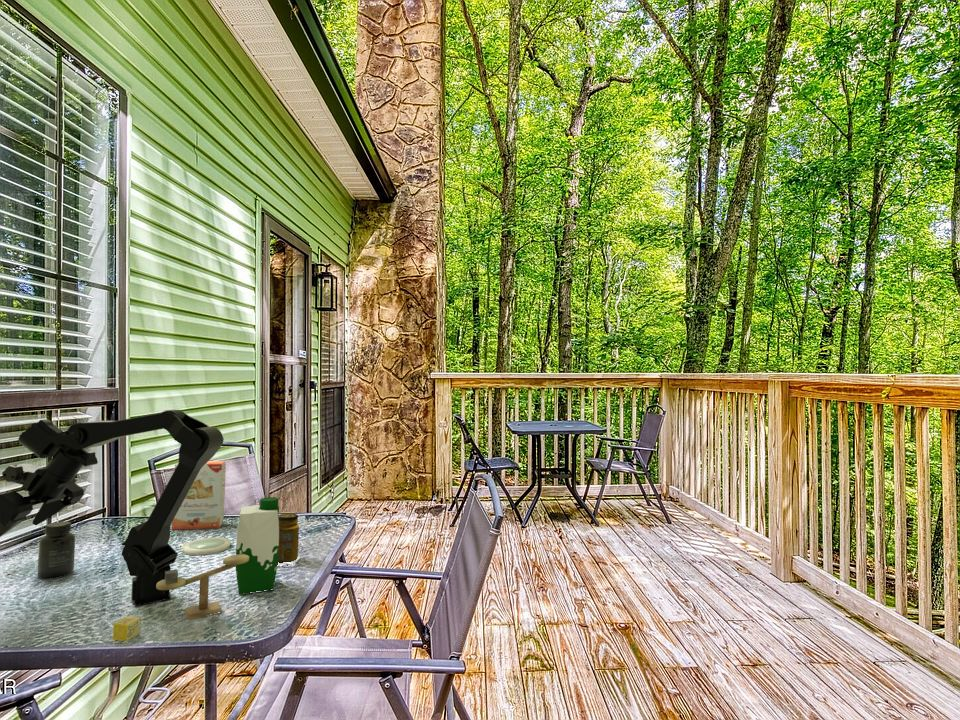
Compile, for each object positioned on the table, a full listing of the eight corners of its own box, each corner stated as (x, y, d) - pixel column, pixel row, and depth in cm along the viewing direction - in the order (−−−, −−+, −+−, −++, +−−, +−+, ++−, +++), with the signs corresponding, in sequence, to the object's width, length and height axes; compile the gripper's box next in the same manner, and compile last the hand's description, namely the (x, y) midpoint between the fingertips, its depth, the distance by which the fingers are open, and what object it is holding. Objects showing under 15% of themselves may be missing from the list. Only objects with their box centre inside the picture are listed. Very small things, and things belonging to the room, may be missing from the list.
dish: (226, 539, 154) (226, 534, 155) (234, 550, 145) (234, 545, 145) (180, 546, 147) (180, 541, 148) (185, 558, 138) (185, 552, 138)
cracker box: (170, 530, 162) (173, 463, 163) (177, 525, 168) (179, 461, 169) (219, 528, 166) (221, 462, 167) (224, 523, 172) (226, 460, 172)
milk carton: (277, 591, 117) (280, 502, 118) (233, 597, 113) (236, 505, 114) (277, 578, 125) (279, 494, 126) (235, 582, 121) (239, 497, 122)
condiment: (303, 556, 141) (304, 512, 141) (292, 567, 132) (294, 520, 133) (275, 556, 140) (277, 511, 141) (263, 567, 132) (265, 520, 132)
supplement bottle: (39, 572, 126) (41, 522, 127) (74, 567, 130) (77, 518, 131) (35, 581, 120) (38, 529, 121) (72, 575, 124) (75, 525, 125)
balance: (244, 599, 113) (246, 552, 113) (249, 607, 108) (251, 559, 109) (153, 618, 103) (155, 567, 103) (155, 628, 99) (157, 575, 99)
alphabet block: (140, 633, 97) (141, 616, 97) (126, 641, 94) (127, 624, 94) (126, 632, 97) (127, 615, 97) (112, 640, 94) (112, 623, 94)
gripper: (65, 444, 123) (23, 498, 122) (-8, 455, 104) (-57, 519, 103) (102, 471, 122) (61, 526, 122) (36, 487, 104) (-13, 552, 103)
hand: (16, 529), depth 112 cm, fingers open, 9 cm apart
